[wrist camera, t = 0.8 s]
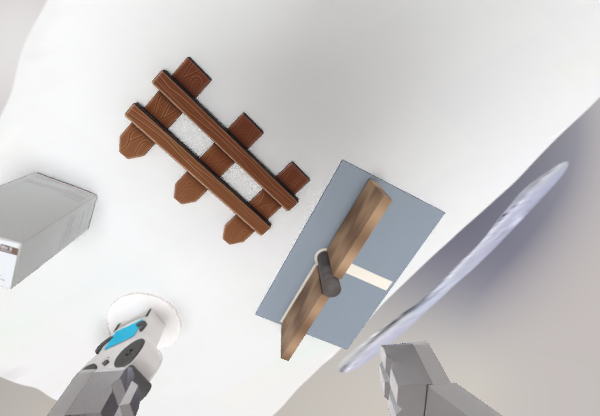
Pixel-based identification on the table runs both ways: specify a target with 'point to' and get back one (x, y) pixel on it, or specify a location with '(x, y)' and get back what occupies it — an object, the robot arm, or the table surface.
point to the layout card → (367, 264)
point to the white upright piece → (137, 336)
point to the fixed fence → (308, 305)
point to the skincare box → (38, 223)
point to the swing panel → (357, 227)
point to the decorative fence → (209, 152)
